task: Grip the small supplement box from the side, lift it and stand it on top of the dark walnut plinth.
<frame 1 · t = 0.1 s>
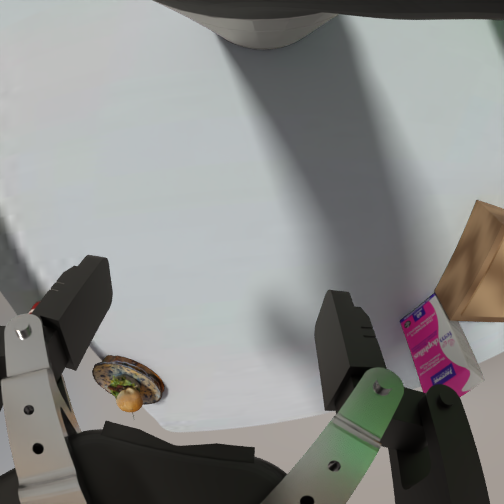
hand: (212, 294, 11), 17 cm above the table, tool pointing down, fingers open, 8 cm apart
supplement box: (426, 314, 35), on the table
walnut plinth: (490, 255, 30), on the table
burger: (129, 376, 46), on the table
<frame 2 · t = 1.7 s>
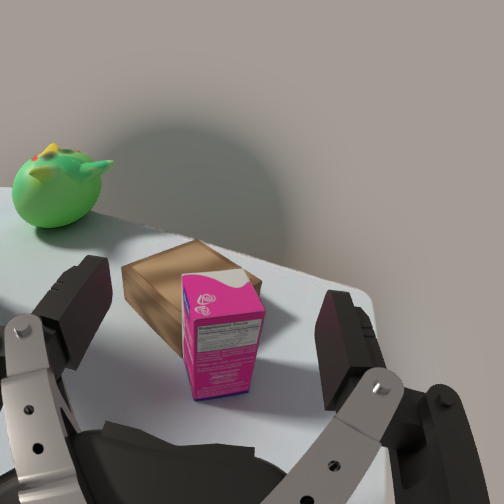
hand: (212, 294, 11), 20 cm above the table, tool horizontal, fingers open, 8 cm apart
supplement box: (213, 377, 31), on the table
toy bird: (61, 223, 53), on the table
walnut plinth: (189, 306, 40), on the table
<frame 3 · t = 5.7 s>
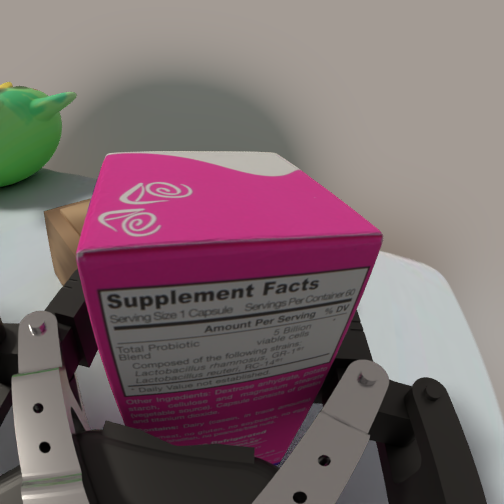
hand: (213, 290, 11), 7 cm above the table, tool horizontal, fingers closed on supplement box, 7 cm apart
supplement box: (200, 430, 13), on the table, touching gripper
toy bird: (9, 184, 35), on the table
walnut plinth: (160, 285, 22), on the table
when the fingers open (13 cm above the table, at t = 9.9 s): supplement box stays where it is, resting on walnut plinth.
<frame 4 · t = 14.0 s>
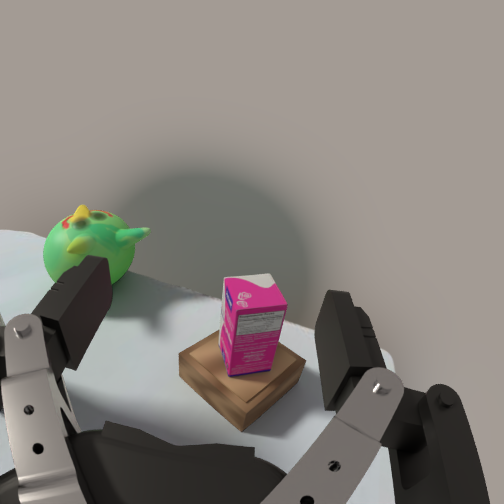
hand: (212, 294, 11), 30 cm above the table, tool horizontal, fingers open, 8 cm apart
supplement box: (243, 359, 40), point 5 cm above the table, touching walnut plinth
toy bird: (95, 283, 56), on the table
walnut plinth: (239, 380, 43), on the table
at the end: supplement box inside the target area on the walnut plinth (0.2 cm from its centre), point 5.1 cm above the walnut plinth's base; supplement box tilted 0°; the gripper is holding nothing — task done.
